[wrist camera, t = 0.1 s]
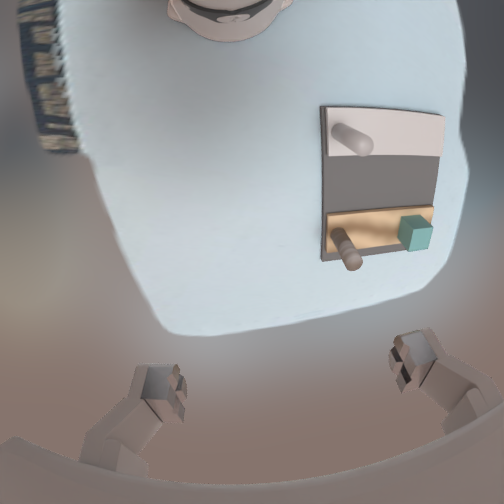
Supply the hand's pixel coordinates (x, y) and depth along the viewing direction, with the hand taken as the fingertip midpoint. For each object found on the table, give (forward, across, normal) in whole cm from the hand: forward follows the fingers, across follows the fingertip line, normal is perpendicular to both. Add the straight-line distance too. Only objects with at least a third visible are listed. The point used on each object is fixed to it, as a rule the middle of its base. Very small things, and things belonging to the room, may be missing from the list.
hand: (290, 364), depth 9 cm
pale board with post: (+38, -24, -4) cm, 45 cm away
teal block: (+38, -30, +15) cm, 51 cm away
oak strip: (+39, -24, +15) cm, 49 cm away
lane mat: (+40, -24, +7) cm, 47 cm away
